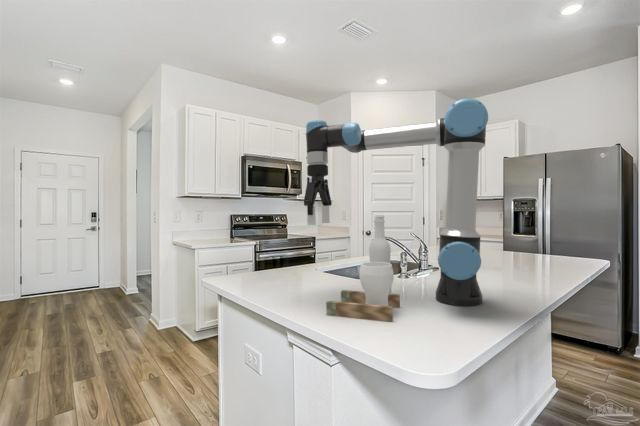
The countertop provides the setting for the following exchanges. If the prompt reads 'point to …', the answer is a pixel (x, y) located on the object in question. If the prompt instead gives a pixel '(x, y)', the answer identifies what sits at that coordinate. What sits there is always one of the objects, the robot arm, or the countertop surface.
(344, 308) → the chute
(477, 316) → the countertop surface
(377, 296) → the cup
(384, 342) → the countertop surface
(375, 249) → the bottle
